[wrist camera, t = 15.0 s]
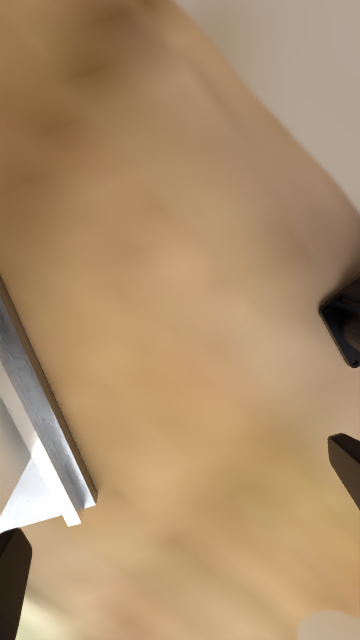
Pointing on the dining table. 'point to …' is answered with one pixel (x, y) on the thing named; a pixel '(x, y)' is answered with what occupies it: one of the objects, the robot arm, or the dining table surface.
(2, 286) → the rail plate
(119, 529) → the dining table surface
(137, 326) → the dining table surface
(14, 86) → the dining table surface
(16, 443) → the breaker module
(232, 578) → the dining table surface
